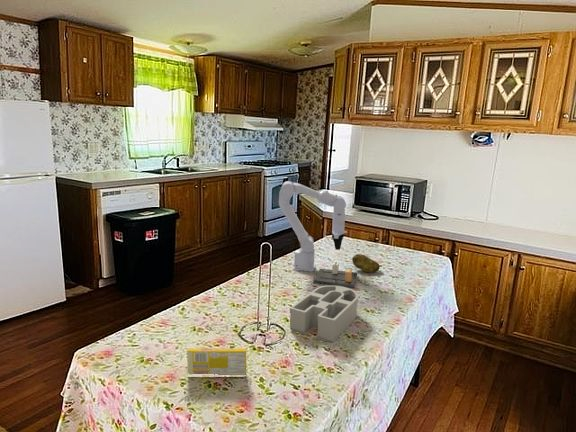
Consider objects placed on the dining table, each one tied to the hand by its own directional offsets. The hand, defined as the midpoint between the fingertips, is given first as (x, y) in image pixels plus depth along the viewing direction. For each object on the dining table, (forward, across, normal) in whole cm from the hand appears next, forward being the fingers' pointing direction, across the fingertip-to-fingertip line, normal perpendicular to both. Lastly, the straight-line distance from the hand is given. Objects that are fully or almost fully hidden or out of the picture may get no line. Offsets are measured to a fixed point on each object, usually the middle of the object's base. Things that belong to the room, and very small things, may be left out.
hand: (337, 249), depth 201 cm
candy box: (+10, -97, +20) cm, 100 cm away
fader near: (+9, -17, -7) cm, 21 cm away
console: (+10, -13, -1) cm, 17 cm away
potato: (+11, +3, -13) cm, 18 cm away
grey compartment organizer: (+11, -55, -5) cm, 56 cm away
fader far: (+9, -9, 0) cm, 13 cm away
